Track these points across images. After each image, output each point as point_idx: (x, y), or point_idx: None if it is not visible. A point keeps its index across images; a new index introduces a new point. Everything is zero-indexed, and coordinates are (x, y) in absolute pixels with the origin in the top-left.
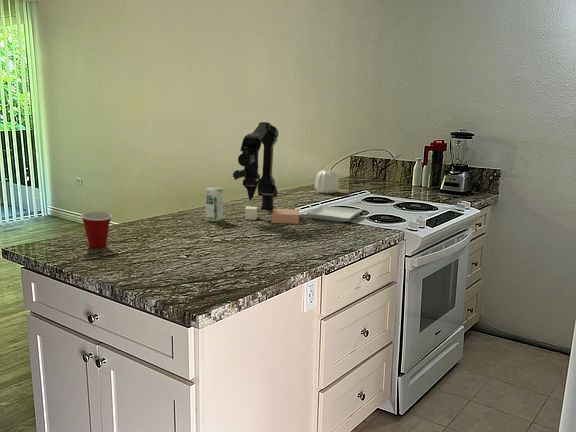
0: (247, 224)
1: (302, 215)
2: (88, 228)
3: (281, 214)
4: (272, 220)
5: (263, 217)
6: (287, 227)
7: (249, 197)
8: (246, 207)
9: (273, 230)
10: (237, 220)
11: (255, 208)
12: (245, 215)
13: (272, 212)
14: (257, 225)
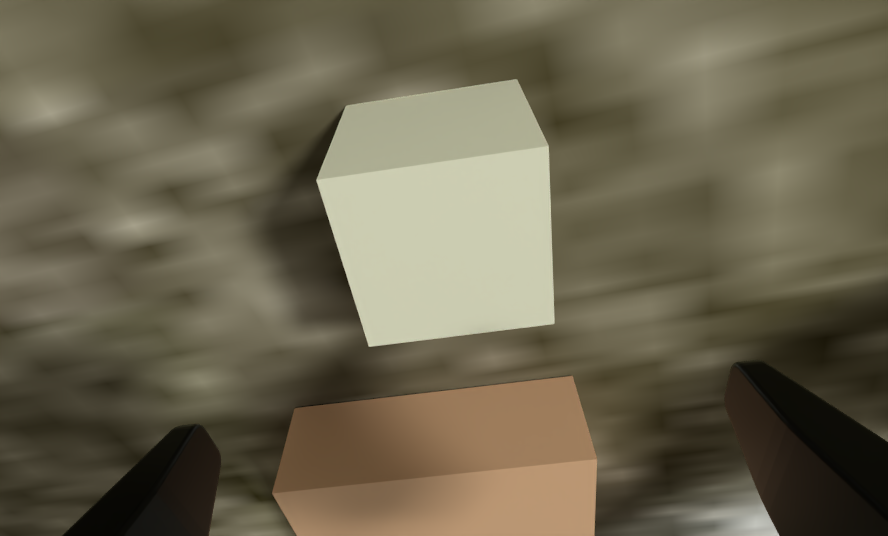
0: (63, 215)
1: (673, 529)
2: None
3: None
4: (291, 432)
5: None
6: None
7: (132, 489)
8: (439, 177)
9: (18, 461)
10: (207, 7)
11: (406, 330)
12: (339, 134)
13: (356, 485)
14: (98, 322)
